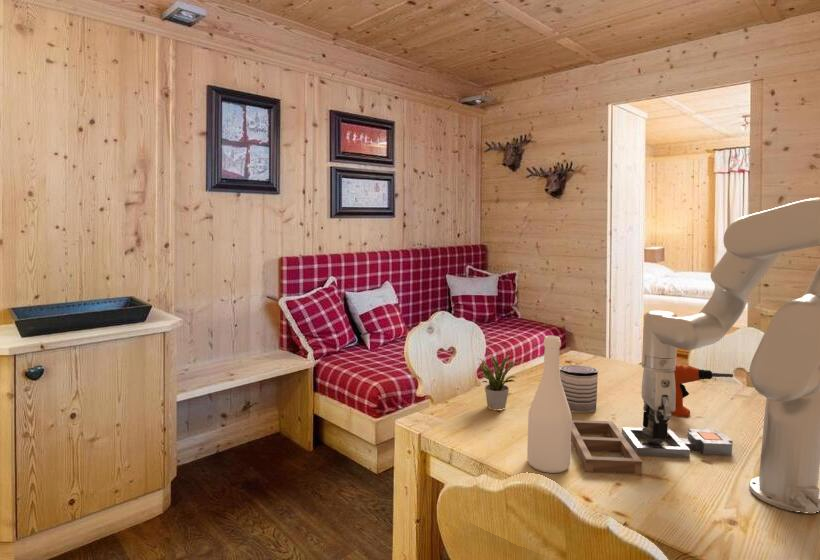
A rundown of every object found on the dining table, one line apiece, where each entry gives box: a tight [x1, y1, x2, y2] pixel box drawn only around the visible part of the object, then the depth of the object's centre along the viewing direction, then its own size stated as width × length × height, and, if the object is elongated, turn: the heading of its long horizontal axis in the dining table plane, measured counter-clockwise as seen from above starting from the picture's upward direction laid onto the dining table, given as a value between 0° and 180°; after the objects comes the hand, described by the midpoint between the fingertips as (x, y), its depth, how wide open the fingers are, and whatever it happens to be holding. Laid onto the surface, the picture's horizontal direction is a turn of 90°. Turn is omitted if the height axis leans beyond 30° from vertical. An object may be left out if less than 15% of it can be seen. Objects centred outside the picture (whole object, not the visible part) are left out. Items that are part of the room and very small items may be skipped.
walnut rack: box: [571, 419, 643, 475], centre depth 125 cm, size 22×12×3 cm, turn 174°
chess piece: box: [641, 407, 668, 446], centre depth 127 cm, size 6×6×12 cm
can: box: [559, 364, 600, 414], centre depth 154 cm, size 11×11×12 cm
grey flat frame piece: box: [621, 426, 733, 459], centre depth 127 cm, size 12×23×3 cm, turn 84°
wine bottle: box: [526, 335, 573, 474], centre depth 117 cm, size 10×10×30 cm
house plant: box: [477, 354, 526, 409], centre depth 153 cm, size 14×14×16 cm
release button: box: [698, 433, 722, 440], centre depth 127 cm, size 4×4×3 cm
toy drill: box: [662, 364, 734, 418], centre depth 146 cm, size 5×19×15 cm, turn 56°
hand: (654, 431), depth 128 cm, fingers closed on chess piece, 5 cm apart
